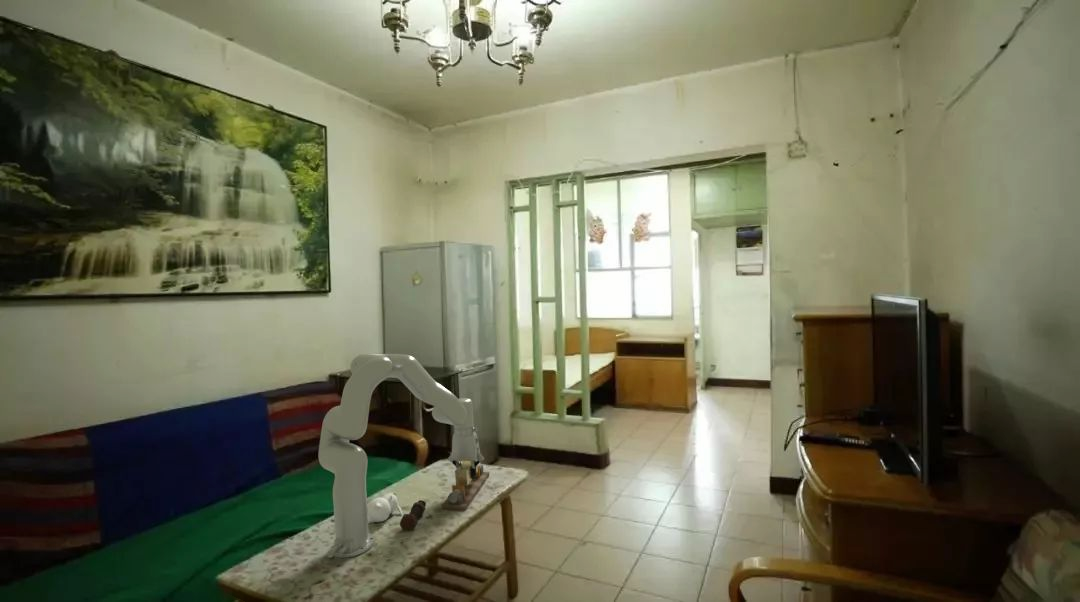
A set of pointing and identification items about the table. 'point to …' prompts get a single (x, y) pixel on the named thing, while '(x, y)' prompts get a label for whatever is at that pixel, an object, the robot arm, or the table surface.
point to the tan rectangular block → (464, 473)
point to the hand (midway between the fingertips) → (467, 476)
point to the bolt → (412, 516)
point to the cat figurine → (382, 508)
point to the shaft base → (465, 492)
